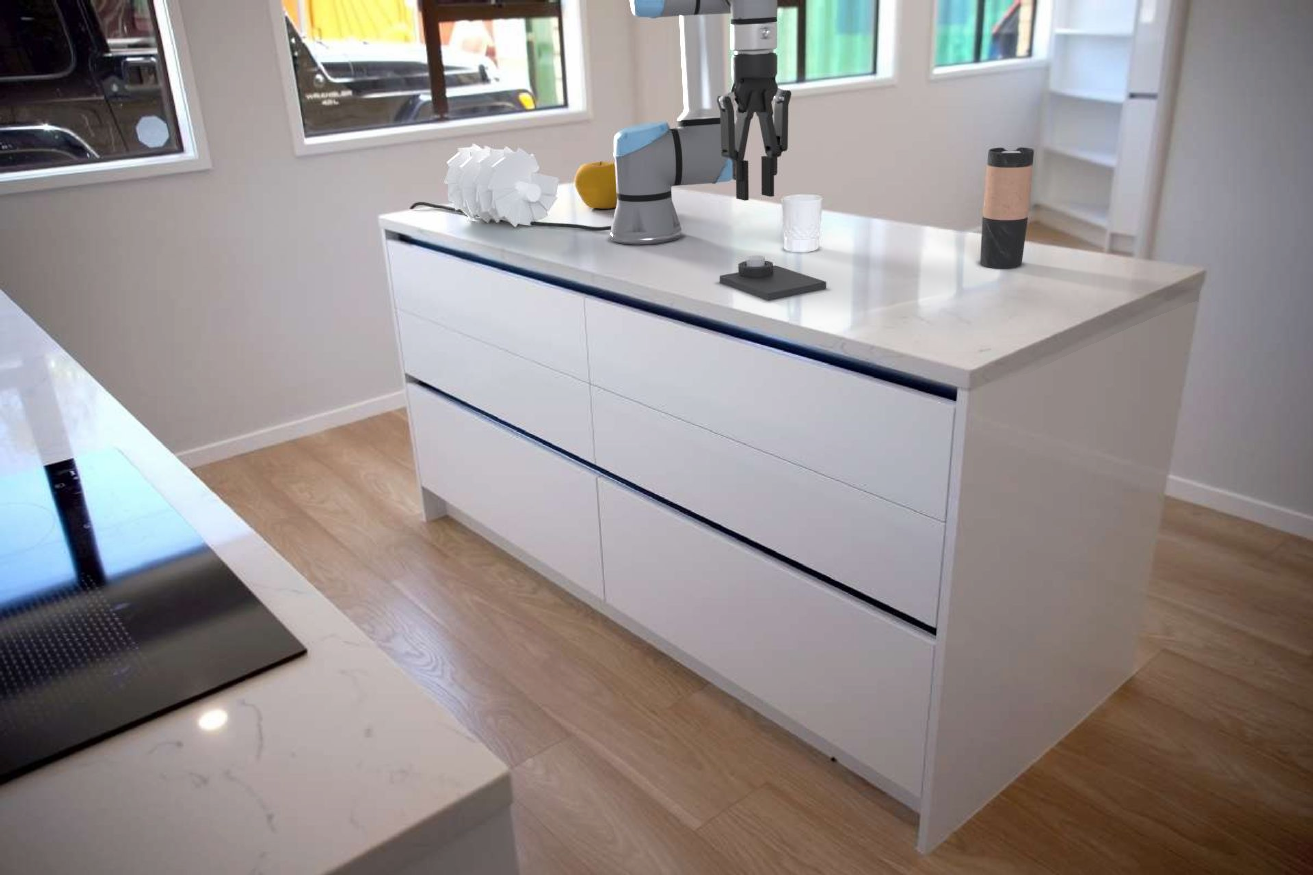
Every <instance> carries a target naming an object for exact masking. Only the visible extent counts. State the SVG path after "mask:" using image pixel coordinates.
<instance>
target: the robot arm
mask: <svg viewBox="0 0 1313 875" xmlns="http://www.w3.org/2000/svg"><path fill="white" fill-rule="evenodd" d="M629 5H630V10H631V13H632V15H633V16H634V17H636V18H650V19H656V18H668V17H669V18H670V17H679V30H680V32H679V33H680V34H679V35H680V52H681V54H680V55H681V69H682V70H681V71H682V91H683V93H682V94H683V108H684V109H683V112H682V113H680V115H679V116H678V117H677V127H675V128H671V126H670V125H669V122H667V121H656V122H655V121H654V122H647V123H641V124H636V125H632V126H628V127H625V128H623V129H621V130H619V131H618V132H616V134H615V135H614V138H613V158H614V162H615V170H616V190H617V206H616V207H615V210H614V214H613V219H612V222H611V225H606V226H591V225H584V224H577V223H565V222H564V223H563V222H545V221H536V222H534V220H533V221H532V222H530V225H533V226H537V227H551V228H568V229H579V230H584V231H585V230H586V231H593V232H603V231H610V240H611V241H612V242H614V243H617V244H622V245H634V246H635V245H638V246H641V245H642V246H644V245H645V246H646V245H658V244H663V243H664V244H665V243H669V242H673V241H676V240H679V239H680V238H681V237H682V236H683V235H682V234H683V233H682V225H681V222H680V219H679V216H678V214H677V210H676V208H675V205H674V203H673V199H672V198H673V196H672V187H678V186H693V185H705V184H706V185H707V184H713V185H716V184H718V183H719V184H720V183H726V182H731V181H733V180H734V181H735V198H736V200H740V201H743V202H745V201H746V202H747V201H749V198H750V197H749V195H750V191H749V189H750V188H749V187H750V186H749V160H746V159H745V156H746V149H747V144H748V140H749V139H748V138H749V133H750V127H751V122H752V119H753V118H754V113H755V115H756V116H757V117H758V122H759V128H760V132H761V137H762V143H763V148H764V152H765V155H762V156H760V157H761V159H760V160H761V161H760V162H761V164H760V165H761V166H760V167H761V170H760V172H761V174H760V175H761V196H766V197H769V198H770V197H771V198H772V197H775V176H777V174H778V158H780V157H781V156H782V153H783V152H787V151H788V149H789V105H790V101H791V98H792V91H791V90H788V89H783V88H780V87H779V86H778V83H777V81H776V78H777V75H778V54H777V52H774V50H776V49H777V48H778V0H629ZM727 14H730V50H731V51H732V52H734V54H732V55H731V57H730V70H731V71H730V73H731V79H732V85H731V88H730V91H729V92H727V93H726V87H725V86H726V85H725V62H724V59H725V58H724V38H723V35H724V34H723V17H722V16H723V15H727ZM773 101H774V105H773V103H772V102H773ZM735 105H736V111H735V108H734V106H735ZM735 117H736V121H735ZM418 206H425V207H429V208H433V209H440V210H447V211H451V212H456V213H460V214H464V215H466V214H465V213H464V212H463V211H462V210H461V209H458V210H455V208H454V206H448V205H445V204H435V203H431V202H426V201H417V202H414V203H413V204H411V206H410V207H409V209H410V210H414V209H415V208H416V207H418ZM475 217H476V218H479V219H482V218H481V217H480V216H475ZM490 221H494V222H496V221H495V220H494V219H490ZM499 222H501V223H508V224H511V223H510V222H508V221H504V220H500V221H499ZM530 225H529V226H530Z"/></svg>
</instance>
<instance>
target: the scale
mask: <svg viewBox="0 0 1313 875" xmlns="http://www.w3.org/2000/svg"><path fill="white" fill-rule="evenodd" d="M719 284H721V285H724V286H727V287H729V288H732V289H735V290H737V291H740V292H742V293H745V294H748V295H751V296H753V297H756V298H759V299H761V300H764V301H767V302H771V301H776V300H780V299H786V298H791V297H795V296H800V295H805V294H810V293H815V292H819V291H820V292H821V291H825V290H827V281H825V280H822V279H819V278H816V277H814V276H810V275H807V274H804V273H801V272H798V271H794V270H792V269H789V268H786V267H783V266H779V265H774V263H773V261H769V260H765V266H760V267H749V266H747V260H744V261H741V262H738V264H737V272H733V273H726V274H722V275H719Z"/></svg>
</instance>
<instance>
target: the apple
mask: <svg viewBox="0 0 1313 875" xmlns="http://www.w3.org/2000/svg"><path fill="white" fill-rule="evenodd" d="M573 181H574V186H575V189H576V192H577V194H578V196H579V197H580V198H581V201H582V202H583V203H584V204H585V205H586V206H587V207H589V208H590V209H606V210H607V209H609V210H610V209H614V208H616V206H617V190H616V170H615V161H603V160H601V161H593V162H592V161H591V162H586V163H584V164H581V166H580V167H579V168H578V170H577V171H576V173H575V176H574V180H573Z"/></svg>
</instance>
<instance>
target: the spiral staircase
mask: <svg viewBox="0 0 1313 875" xmlns="http://www.w3.org/2000/svg"><path fill="white" fill-rule="evenodd" d="M446 164H447V165H448V169H447V172H446V175H445V177H444V179H443V183H444V184H446V185H447V199H448V200H447V201H448V202H452V206H453V208H455V210H458V209H461V210H462V211H463V212H464V213H465V214H464V215H465V216H467V217H468V218H469V219H471V220H472V219H473V218H474V217H476V216H480V217H481V218H480V217H479V218H480V219H482V220H483V221H485V222H486V223H488V224H489V222H490V221H491V220H490V219H494V220H495V221H494V220H493V221H494V222H495V223H497V224H498V223H499V222H500V220H504V221H508V222H510V223H509V224H510V225H512V226H513V227H514V228H516V227H517V225H525V226H530V227H533V226H534V225H530V222H532V221H533V222H539V221H541V220H542V219H544V218H546V217H548V215H549V214H548V212H550V210H551V208H552V207H553V205H554V204H555V202H556V201H557V199H558V197H557V193H558V189H559V188H558V187H559V182H560V177H556V176H551V175H546V174H543V173H537V172H538V171H540V169H541V168H540V166H539V164H538V161H537V159H536V156H535V154H534V153H531V154H529V153H528V152H526V151H525V150H524V149H522V148H521V147H518V148H517V150H516V151H513V150H512V149H511V148H510V147H508V146H507V145H505V146H504V147H503V149H501V148H492V147H490V146H488V145H486V144H484V146H483V147H482V148H481V147H480V146H478V145H477V144H476V143H473V142H472V144H471V146H469V147H457V153H456V154H455V155H454V156H453V157H451V158H450V159H449V160H447V161H446Z"/></svg>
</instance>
